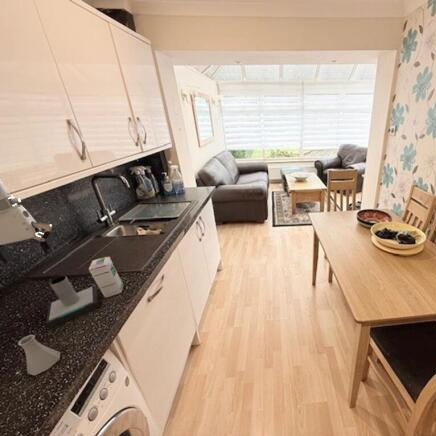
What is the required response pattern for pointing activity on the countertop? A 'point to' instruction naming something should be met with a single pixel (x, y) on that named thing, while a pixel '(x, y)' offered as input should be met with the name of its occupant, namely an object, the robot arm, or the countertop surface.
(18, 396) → the countertop surface
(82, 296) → the scale
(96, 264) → the syrup box
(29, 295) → the countertop surface
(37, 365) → the flask
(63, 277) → the planter
